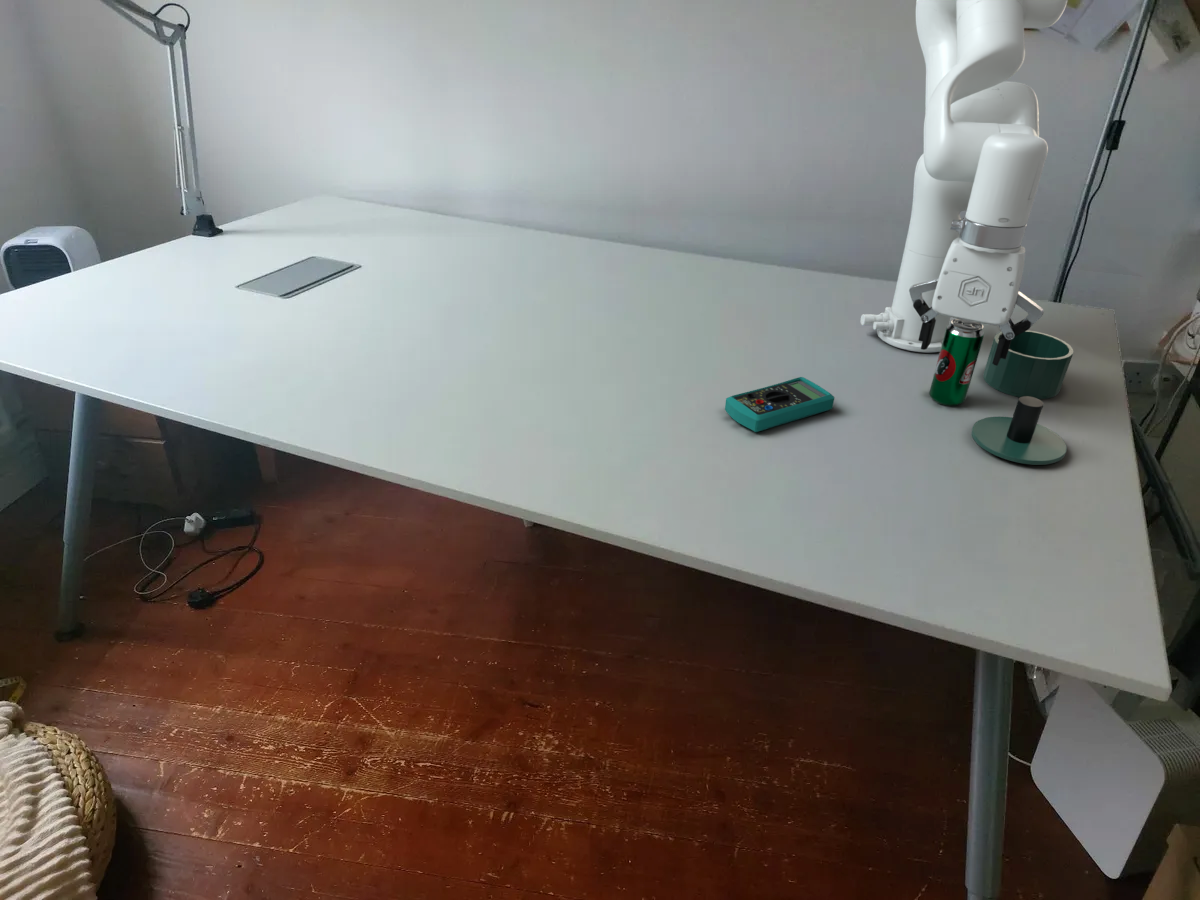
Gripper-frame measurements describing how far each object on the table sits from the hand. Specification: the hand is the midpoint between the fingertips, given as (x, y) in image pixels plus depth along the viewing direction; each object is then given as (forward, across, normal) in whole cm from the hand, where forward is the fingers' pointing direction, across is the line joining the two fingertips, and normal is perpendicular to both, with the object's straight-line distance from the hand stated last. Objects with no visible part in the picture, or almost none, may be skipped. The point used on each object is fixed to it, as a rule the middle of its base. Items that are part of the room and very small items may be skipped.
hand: (960, 354), depth 115 cm
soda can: (+8, 0, +1) cm, 8 cm away
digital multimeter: (+8, -20, -17) cm, 27 cm away
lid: (+7, +10, -8) cm, 15 cm away
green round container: (+7, +8, +13) cm, 17 cm away
